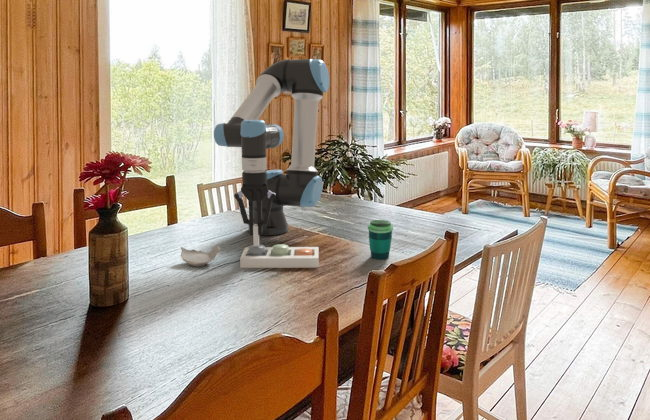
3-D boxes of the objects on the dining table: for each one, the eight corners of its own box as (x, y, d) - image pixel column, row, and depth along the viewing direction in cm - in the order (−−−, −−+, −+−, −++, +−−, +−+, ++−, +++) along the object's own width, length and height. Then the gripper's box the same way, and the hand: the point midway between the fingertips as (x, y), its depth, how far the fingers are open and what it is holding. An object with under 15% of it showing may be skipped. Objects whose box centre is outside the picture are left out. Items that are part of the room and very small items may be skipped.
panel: (240, 267, 169) (240, 258, 169) (245, 256, 181) (245, 247, 180) (318, 267, 169) (318, 258, 169) (318, 255, 181) (318, 246, 180)
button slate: (248, 258, 172) (247, 248, 172) (250, 253, 177) (249, 244, 176) (264, 258, 172) (263, 248, 172) (265, 253, 177) (265, 244, 176)
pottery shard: (176, 263, 174) (176, 248, 173) (207, 256, 181) (206, 241, 180) (194, 271, 167) (193, 255, 165) (225, 263, 174) (224, 248, 173)
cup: (394, 255, 181) (395, 220, 178) (389, 263, 173) (390, 226, 171) (370, 253, 184) (371, 218, 181) (364, 260, 176) (364, 224, 173)
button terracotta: (296, 262, 173) (296, 253, 172) (296, 257, 178) (296, 248, 177) (312, 262, 173) (312, 253, 172) (312, 257, 178) (312, 248, 177)
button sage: (272, 258, 172) (271, 248, 172) (273, 253, 177) (273, 244, 176) (288, 257, 172) (287, 248, 172) (289, 253, 177) (288, 244, 177)
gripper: (231, 172, 165) (233, 248, 170) (274, 172, 165) (276, 248, 170) (234, 169, 172) (237, 241, 177) (276, 169, 172) (278, 241, 177)
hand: (256, 245), depth 174 cm, fingers closed
